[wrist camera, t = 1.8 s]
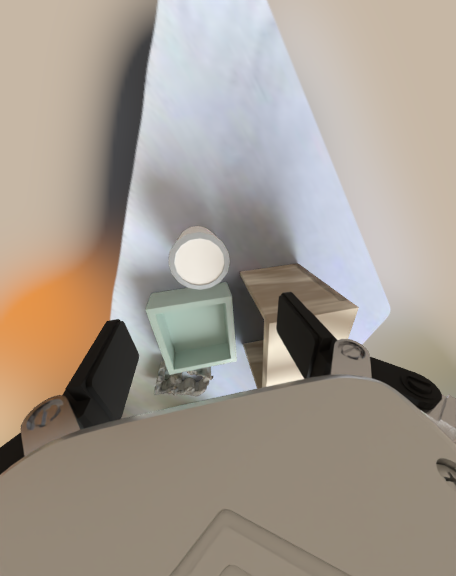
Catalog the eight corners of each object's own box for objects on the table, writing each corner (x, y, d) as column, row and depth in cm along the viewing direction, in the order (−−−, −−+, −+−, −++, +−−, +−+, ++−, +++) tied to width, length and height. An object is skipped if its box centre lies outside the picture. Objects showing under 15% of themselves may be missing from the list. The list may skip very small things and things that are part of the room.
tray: (232, 343, 37) (236, 361, 33) (171, 354, 36) (169, 374, 32) (226, 281, 30) (231, 296, 26) (151, 293, 29) (145, 309, 25)
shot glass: (171, 219, 24) (165, 230, 18) (222, 222, 26) (232, 233, 20) (174, 268, 28) (170, 291, 22) (220, 268, 29) (228, 289, 23)
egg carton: (214, 360, 39) (216, 377, 36) (203, 382, 42) (204, 400, 39) (162, 353, 36) (159, 372, 32) (154, 379, 39) (150, 398, 35)
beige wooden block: (288, 337, 39) (327, 397, 28) (243, 346, 38) (265, 412, 27) (297, 263, 31) (358, 307, 20) (239, 271, 30) (269, 323, 19)
